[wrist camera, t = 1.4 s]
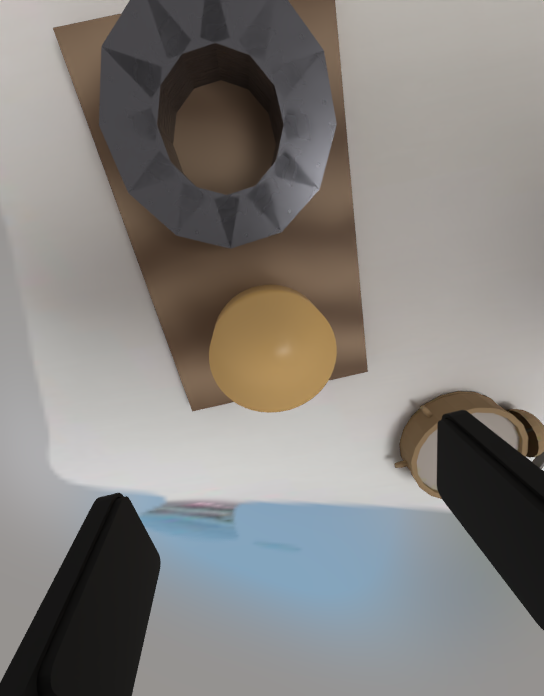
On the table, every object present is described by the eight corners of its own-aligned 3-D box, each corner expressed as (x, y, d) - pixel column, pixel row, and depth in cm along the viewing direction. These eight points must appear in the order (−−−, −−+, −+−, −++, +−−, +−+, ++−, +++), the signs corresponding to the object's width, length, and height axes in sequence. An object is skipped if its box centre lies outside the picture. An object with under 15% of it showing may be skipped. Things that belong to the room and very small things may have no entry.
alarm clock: (435, 396, 27) (600, 435, 27) (415, 373, 31) (555, 406, 31) (391, 491, 31) (534, 525, 31) (379, 458, 35) (503, 487, 35)
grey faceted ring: (352, 143, 20) (377, 124, 17) (234, 276, 23) (233, 286, 19) (212, -40, 16) (203, -118, 13) (89, 145, 19) (52, 125, 15)
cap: (330, 319, 25) (362, 352, 18) (267, 381, 26) (275, 432, 20) (262, 253, 22) (271, 264, 16) (197, 326, 24) (181, 363, 17)
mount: (362, 365, 28) (367, 371, 27) (194, 404, 28) (192, 411, 27) (326, -15, 18) (332, -31, 17) (64, 40, 18) (52, 27, 17)
